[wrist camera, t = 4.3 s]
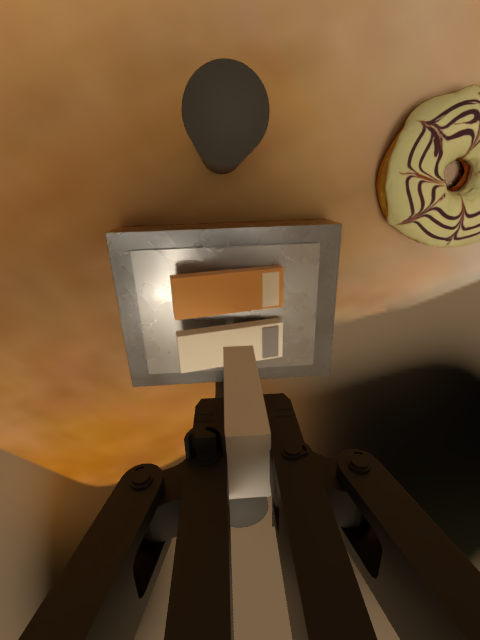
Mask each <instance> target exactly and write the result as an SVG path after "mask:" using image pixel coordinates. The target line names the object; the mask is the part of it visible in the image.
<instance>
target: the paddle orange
mask: <svg viewBox="0 0 480 640" xmlns="http://www.w3.org/2000/svg"><path fill="white" fill-rule="evenodd" d="M169 276H170V285H171V294H172V303H173V312H174V318H175V320H183V319H191V318H198V317H206V316H214V315H222V314H230V313H238V312H246V311H253V310H261V309H269V308H277V307H283V298H284V267H282V266H280V265H271V266H261V267H250V268H240V269H229V270H218V271H208V272H197V273H187V274H176V275H169Z"/></svg>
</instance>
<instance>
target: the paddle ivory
mask: <svg viewBox="0 0 480 640" xmlns="http://www.w3.org/2000/svg"><path fill="white" fill-rule="evenodd" d="M176 339H177V348H178V357H179V365H180V371H181V373H187V372H193V371H199V370H205V369H211V368H217V367H223V366H224V365H223V347H231V346H250V345H253V349H254V354H255V358H256V361H259V360H265V359H271V358H277V357H282V351H283V322H282V321H281V320H280V319H279V318H271V319H264V320H256V321H249V322H241V323H234V324H227V325H219V326H212V327H204V328H197V329H190V330H182V331H176Z"/></svg>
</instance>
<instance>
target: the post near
mask: <svg viewBox="0 0 480 640" xmlns="http://www.w3.org/2000/svg"><path fill="white" fill-rule="evenodd" d="M182 117H183V122H184V126H185V129H186V131H187V133H188V135H189V137H190V139H191V141H192V143H193V144H194V146H195V148H196V150H197V152H198V154H199V155H200V157H201V159H202V161H203V163H204V164H205V166H206V167H207V168H208V169H209V170H210V171H212V172H214V173H217V174H227V173H229V172H231V171H233V170H234V169H235V168H236V167H237V166H238V165H239V164H240V163H241V162H242V161H243V160H244V159H245V158H246V157H247V156H248V155H249V154H250V153H251V152H252V151H253V149H254V148H255V147H256V146H257V145H258V144H259V143H260V141H261V140H262V138H263V136H264V134H265V132H266V129H267V125H268V121H269V101H268V96H267V93H266V90H265V87H264V85H263V83H262V82H261V80H260V78H259V77H258V76H257V74H256V73H255V72H254V71H253V70H252V69H251V68H249V67H248V66H247V65H245V64H243V63H242V62H239V61H236V60H233V59H216V60H212V61H210V62H208V63H206V64H204V65H202V66H201V67H200V68H199V69H197V70H196V71H195V73H194V74H193V75H192V76H191V78H190V79H189V81H188V83H187V85H186V88H185V91H184V94H183V99H182Z"/></svg>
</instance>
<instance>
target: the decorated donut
mask: <svg viewBox="0 0 480 640" xmlns="http://www.w3.org/2000/svg"><path fill="white" fill-rule="evenodd" d="M456 159H457V160H459V161H461V163H462V165H463V167H464V174H463V176H462V177H461V179H460V180H459V182H458V183H457V184H456V186H453V187H452V189H450V188H449V190H447V187H446V183H445V178H444V169H445V167H446V166H447V165H449V164H450V163H453V162H454V161H455V160H456ZM376 187H377V191H378V195H379V202H380V205H381V209H382V211H383V213H384V216H385V218H386V219H387V221H388V223H389V224H390V225H392V226H393V227H395V228H396V229H398V230H399V231H400V232H401V233H402V234H404V235H405V236H407V237H408V238H410V239H412V240H414V241H416V242H419V243H422V244H425V245H428V246H435V247H460V246H465V245H468V244H471V243H476V242H478V241H480V87H479V86H477V85H470V86H468V87H465V88H463V89H461V90H459V91H457V92H454V93H450V94H445V95H441V96H436V97H433V98H431V99H429V100H427V101H425V102H423V103H421V104H420V105H419V106H417V107H416V108H415V109H414V110H413V111H412V113H411V114H410V115H409V117H408V118H407V120H406V122H405V126H404V127H403V128H402V129H401V131H400V132H399V133H398V134H397V136H396V137H395V139H394V140H393V142H392V144H391V145H390V147H389V148H388V150H387V152H386V154H385V156H384V159H383V161H382V163H381V166H380V169H379V172H378V179H377V182H376Z"/></svg>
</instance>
